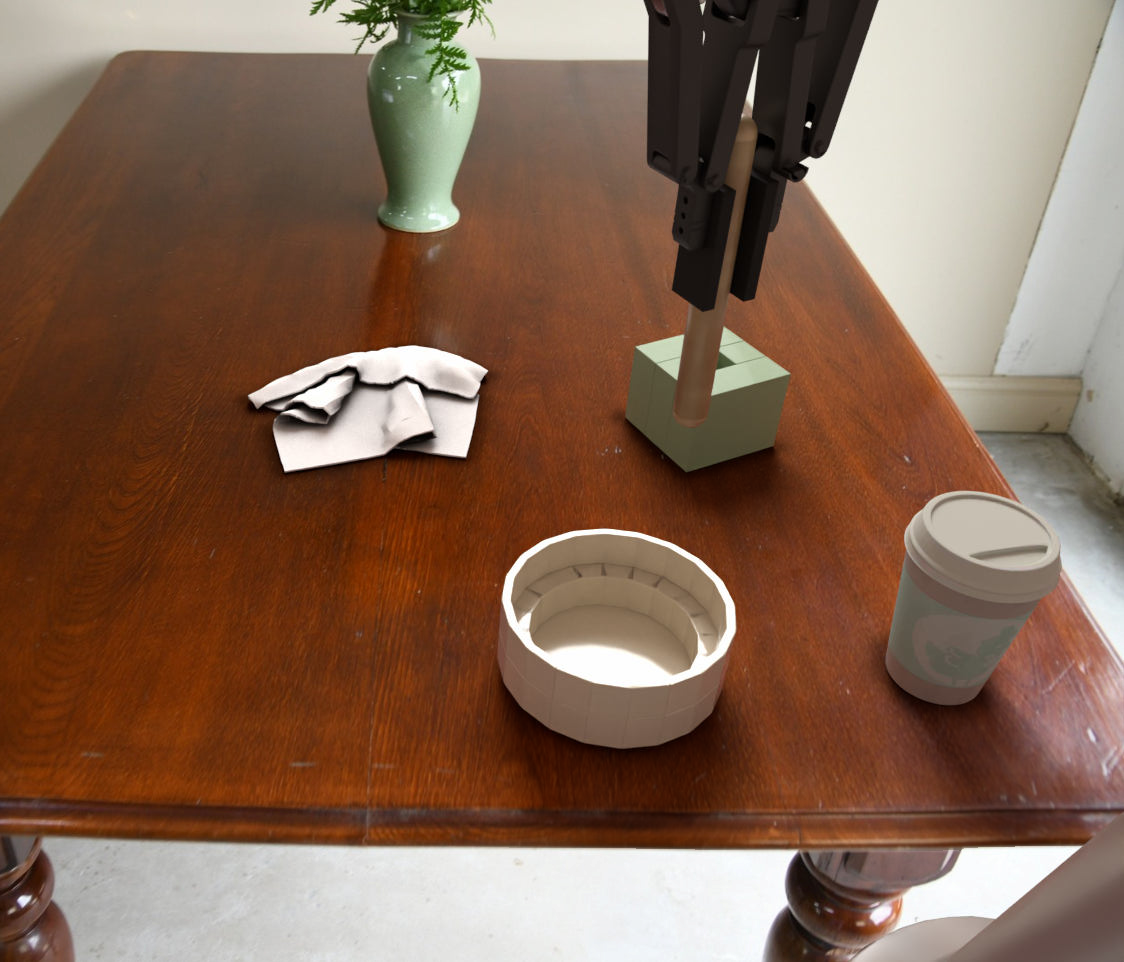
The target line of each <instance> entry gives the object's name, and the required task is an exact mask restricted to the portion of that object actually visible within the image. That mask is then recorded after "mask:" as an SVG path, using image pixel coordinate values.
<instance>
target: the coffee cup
mask: <svg viewBox="0 0 1124 962" xmlns="http://www.w3.org/2000/svg"><path fill="white" fill-rule="evenodd" d="M903 541H904V546H905V548H906V549H905V554H904V560H903V564H902V569H901V573H900V574H901V575H900V578H899V579H900V580H899V585H898V590H897V594H896V601H895V606H894V611H893V616H892V621H891V627H890V631H889V637H888V643H887V648H886V653H885V659H884V661H885V668H886V670H887V672H888V674H889V676H890V678H892V680H893V681H894V682H895V683H896V684H897V686H899V687H900V688H902V689H903V691H905V692H907V693H908V694H910V695H911V696H913V697H916V698H917V699H920V700H922V701H924V702H927V703H932V704H934V705H935V704H936V705H942V706H959V705H964V704H966V703H968V702H970V701H972V700H974V699H975V698H976V697H977V696H978V695H979V693H980V691H981V690H982V689H983V688H984V686H985V684H986V683H987V682H988V680H989V678H990V677H991V675H992V674H993V672H995V669H996V668H997V666H998V665H999V663H1000V662H1001V661H1002V659H1003V657H1004V656H1005V654H1006V653H1007V652H1008V650H1009V649H1010V647H1011V645H1012V644H1013V642H1014V641H1015V639H1016V638H1017V636H1018V635H1019V633H1020V632H1021V630H1022V629H1023V627H1024V626H1025V624H1026V623H1027V621H1028V620H1029V618H1031V617H1030V616H1031V615H1032V614H1033V613H1034V611H1035V609H1036V608H1037V606H1038V605H1039V603H1040V602H1041V600H1042V599H1043V598H1044V597H1047V596H1049V594H1051V593H1052V592H1054V590H1055V589H1056V588H1057V586H1058V584H1059V583H1060V579H1061V572H1062V568H1063V566H1062V564H1063V563H1062V558H1061V541H1060V538H1059V536H1058V534H1057V532H1056V530H1055V529H1054V528H1053V526H1052V525H1051V524H1050V523H1049V522H1048V521H1047V520H1046V519H1045V518H1044V517H1042V515H1040V514H1039V513H1038V512H1036V511H1035V510H1033V509H1031V508H1029V507H1028V506H1026V505H1023V504H1021V503H1019V502H1017V501H1015V500H1012V499H1010V498H1008V497H1004V496H1001V495H998V494H993V493H989V492H984V491H974V490H956V491H949V492H945V493H942V494H940V495H936V496H935V497H933V498H931V499H930V500H929V501H928V502H927V503H926V504H925V506H924V507H923V508H922V509H921V510H920V511H918V512H917V513H916V514H915V515H914V516H913V517H912V519H911V521H910V523H909V524H908V525H907V526H906V528H905V531H904V537H903Z"/></svg>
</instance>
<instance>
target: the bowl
mask: <svg viewBox="0 0 1124 962" xmlns="http://www.w3.org/2000/svg"><path fill="white" fill-rule="evenodd" d="M500 599H501V600H500V612H499V613H500V614H499V629H498V640H497V641H498V643H497V655H496V657H497V662H498V666H499V669H500V674H501V678H502V682H503V684H504V685H505V687H506V688H507V690H508V691H509V692H510V694H511V695H512V697H513V698H514V700H515V701H516V702H517V703H518V705H519V707H521V708H522V709H523V710H524V711H525V712H527V713H528V714H529V715H530V716H532V717H533V718H534V719H535V720H537V721H538V722H540V723H541V724H542V725H543V726H545V727H546V728H547V729H549V730H551V731H554V732H555V733H558V734H561V735H563V736H566V737H568V738H571V739H573V740H575V741H578V742H580V743H582V744H587V745H594V746H601V747H606V748H607V747H608V748H614V749H620V750H621V749H622V750H623V749H633V748H644V747H655V746H660V745H663V744H665V743H668V742H670V741H672V740H675V739H678V738H680V737H682V736H685V735H687V734H689V733H691V732H692V731H694V730H695V729H696V728H697V727H699V725H700V724H701V723H702V722H703V721H705V720H706V719H707V718H708V717H709V716H711V714H712V713H713V712H714V708H715V707H716V704H717V702H718V700H719V698H720V696H721V693H722V692H723V687H724V684H725V679H726V675H727V671H728V667H729V663H730V659H731V655H732V651H733V647H734V643H735V639H736V636H737V631H738V630H737V629H738V628H737V614H736V613H737V611H736V604H735V602H734V600H733V598H732V597H731V594H730V593H729V590H728V589H727V587H726V585H725V583H724V581H723V579H722V578H720V577H719V576H718V575H717V574H716V573H715V572H714V571H713V570H712V569H711V568H710V567H709V566H708V565H707V564H706V563H705V562H704V561H703V560H702V559H700V558H698V557H696V556H695V555H693V554H691V552H688V551H687V550H685V549H684V548H681V547H680V546H678V545H676V544H675V543H673V542H669V541H667V540H663V539H660V538H657V537H654V536H651V535H649V534H645V533H642V532H637V531H628V530H622V529H612V528H597V529H596V528H595V529H594V528H593V529H583V530H581V529H580V530H573V531H569V532H565V533H562V534H559V535H556V536H553V537H549V538H546V539H544V540H541V541H540V542H539V543H537V544H536V545H534V546H532V547H531V548H529V549H528V550H526V551H525V552H523V553H522V554H521V555H520V556H519V557H518V558H517V560H516V561H515V562H514V564H513V565H512V567H510V569H509V570H508V572H507V573H506V575H505V577H504V582H503V588H502V592H501V598H500Z"/></svg>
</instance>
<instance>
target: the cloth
mask: <svg viewBox="0 0 1124 962" xmlns="http://www.w3.org/2000/svg"><path fill="white" fill-rule="evenodd" d="M488 372H489V370H488V369H486V368H484V367H483V366H481V365H480V364H478V363H475V362H473V361H472V360H470V359H467V358H464V357H462V356H460V355H457V354H454V353H451V352H447V351H442V350H440V349H438V348H433V347H425V346H418V345H406V346H398V347H386V348H382V349H379V350H369V351H366V352H364V351H359V352H350V353H348V354H343V355H338V356H335V357H329V358H328V359H326V360H324V361H321V362H319V363H317V364H315V365H311V366H310V365H309V366H306V367H304V368H301V369H299V370H298V371H295V372H294V373H291V374H288V375H284V376H282V377H279V378H277V379H275V380H273V381H271V382H270V383H268V384H266V385H265V386H264V387H262V388H260V389H258V390H256V391H254V392H252V393H249V394H248V395H247V398H248V399H247V400H249V401H251V402H252V403H253V404H254V406H255V408H256V410H259V408H261V407H262V406H263V407H265V408H268V409H270V410H274V411H279V412H280V411H281V412H280V413H279V414H278V415H277V416H276V417H275V418H274V420H273V424H272V432H273V436H274V440H275V441H274V442H275V444H276V448H277V451H278V454H279V458H280V462H281V464H282V467H283V470H284V474H285V473H291V472H292V473H293V472H296V471H303V470H309V469H316V468H322V467H328V466H334V465H338V464H339V465H340V464H346V463H350V462H351V463H352V462H357V461H362V460H368V459H373V458H377V457H382V456H386V455H387V454H388V453H390V451H392V450H393V449H397V450H403V451H413V452H414V451H415V452H421V453H424V454H430V455H437V456H443V457H452V458H460V459H467V455H468V452H469V448H470V444H471V440H472V436H473V431H474V427H475V423H476V418H477V411H478V410H477V409H478V406H479V405H478V404H479V400H480V394H479V393H478V392H479V389H480V387H481V381H482V380H483V378H484V376H486V375H487V373H488ZM297 403H303V404H301V405H299V406H298V407H296V408H293V409H289V408H291V407H292V406H294V405H296V404H297ZM287 409H289V410H287ZM286 410H287V411H286Z"/></svg>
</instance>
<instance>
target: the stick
mask: <svg viewBox="0 0 1124 962" xmlns="http://www.w3.org/2000/svg"><path fill="white" fill-rule="evenodd" d="M757 135H758V130H757V126H756V123H755V122H754V120H753V119H752V116H750V115H748V114H745V113H742V116H741V120H740V124H739V128H738V132H737V136H736V140H735V143H734V147H733V151H732V155H731V159H730V163H729V167H728V171H727V174H726V178H725V181H724V184H726V185H728V186H729V187H731V188H733V189H735V190H736V196H735V201H734V207H733V212H732V217H731V223H730V228H729V233H728V239H727V244H726V249H725V255H724V260H723V265H722V271H721V276H720V281H719V287H718V292H717V297H716V302H715V308H714V309H713V310H709V311H705V312H702V311H700V310H699V309H697V308H696V307H695V306H693V305H692V304H690V303H689V302H688V306H687V307H688V308H687V313H686V320H685V327H684V333H683V334H684V339H683V346H682V352H681V359H680V365H679V372H678V378H677V385H676V391H675V397H674V404H673V416H674V418H675V420H676V422H677V423H678V424H680V425H681V426H683V427H686V428H694V427H698V426H699V425H701V424H702V423H703V422H704V421H705V420H706V418H707V416H708V412H709V406H710V401H711V395H712V389H713V384H714V378H715V373H716V367H717V361H718V356H719V350H720V344H721V339H722V333H723V328H724V327H725V321H726V315H727V309H728V306H729V298H730V294H731V293H730V288H731V283H732V277H733V271H734V266H735V260H736V254H737V249H738V243H739V238H740V232H741V226H742V221H743V215H744V209H745V204H746V198H747V192H748V187H749V181H750V176H751V170H752V164H753V159H754V153H755V147H756V142H757Z"/></svg>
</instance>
